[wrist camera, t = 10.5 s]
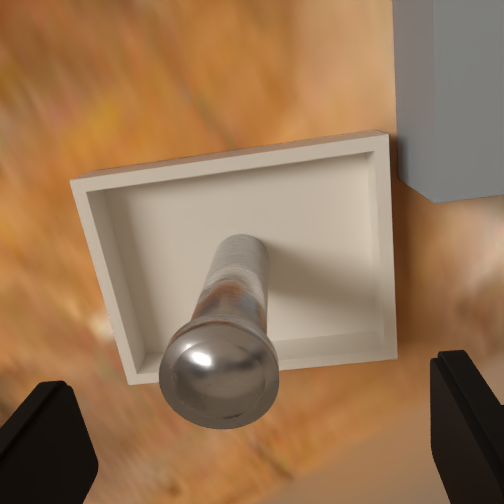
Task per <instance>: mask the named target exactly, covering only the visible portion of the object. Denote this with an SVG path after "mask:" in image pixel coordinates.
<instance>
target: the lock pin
mask: <svg viewBox="0 0 504 504" xmlns="http://www.w3.org/2000/svg"><path fill="white" fill-rule="evenodd" d="M268 276H269V256H268V252H267V250H266V248H265V246H264V245H263V244H262V242H261V241H259V240H258V239H257V238H255V237H253V236H250V235H246V234H236V235H232V236H229V237H227V238H226V239H224V240H223V241H222V242H221V243H220V244H219V246H218V247H217V250H216V252H215V255H214V258H213V260H212V263H211V266H210V269H209V271H208V274H207V277H206V279H205V282H204V285H203V288H202V290H201V293H200V296H199V299H198V301H197V304H196V307H195V310H194V312H193V315H192V318H191V321H190V322H188V323H186V324H185V325H183V326H182V327H181V328H180V329H179V330H178V331H177V332H176V333H175V334H174V335H173V337H172V338H171V340H170V342H169V344H168V346H167V348H166V351H165V353H164V355H163V358H162V360H161V363H160V367H159V384H160V388H161V391H162V394H163V396H164V398H165V399H166V401H167V402H168V404H169V405H170V406H171V407H172V408H173V410H174V411H176V412H177V413H178V414H179V415H180V416H182V417H183V418H185V419H186V420H188V421H190V422H192V423H194V424H197V425H199V426H203V427H206V428H212V429H233V428H238V427H242V426H245V425H248V424H250V423H252V422H254V421H256V420H257V419H259V418H260V417H262V416H263V415H264V414H265V413H266V412H267V411H268V410H269V408H270V407H271V406H272V404H273V403H274V401H275V398H276V396H277V393H278V389H279V362H278V356H277V352H276V350H275V347H274V345H273V344H272V342H271V340H270V339H269V338H268V336H267V312H268Z"/></svg>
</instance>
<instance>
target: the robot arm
mask: <svg viewBox="0 0 504 504" xmlns="http://www.w3.org/2000/svg"><path fill="white" fill-rule="evenodd" d="M430 410H431V450H432V455H433V459H434V462H435V464H436V467H437V469H438V472H439V474H440V477H441V480H442V482H443V485H444V487H445V490H446V493H447V495H448V498H449V500H450V503H451V504H504V405H501V404H500V402H499V401H498V399H497V398H496V397H495V395H494V394H493V392H492V390H491V389H490V387H489V386H488V384H487V383H486V381H485V380H484V378H483V377H482V375H481V374H480V372H479V371H478V369H477V368H476V366H475V365H474V363H473V362H472V360H471V359H470V357H469V356H468V354H467V353H466V352H465V351H464V350H454V351H441V352H439V353H438V358H432V359H431V360H430ZM97 472H98V460H97V457H96V454H95V451H94V448H93V445H92V443H91V440H90V437H89V434H88V431H87V428H86V426H85V423H84V420H83V417H82V414H81V411H80V408H79V406H78V403H77V400H76V397H75V394H74V391H73V389H72V387H71V386H67V384H66V383H65V382H64V381H48V382H41V383H39V384H38V385H37V386H36V387H35V388H34V390H33V391H32V392H31V393H30V394H29V396H28V397H27V398H26V399H25V400H24V401H23V403H22V404H21V405H20V406H19V407H18V408H17V410H16V411H15V412H14V413H13V414H12V416H11V417H10V418H9V419H8V420H7V421H6V423H5V424H4V425H3V426H2V427H1V429H0V504H83V502H84V500H85V498H86V496H87V494H88V492H89V490H90V488H91V486H92V484H93V482H94V480H95V478H96V475H97Z"/></svg>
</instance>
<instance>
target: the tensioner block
mask: <svg viewBox="0 0 504 504" xmlns="http://www.w3.org/2000/svg"><path fill="white" fill-rule="evenodd" d="M393 26H394V55H395V84H396V113H397V143H398V172H399V180H401V181H402V182H404V183H405V184H407V185H408V186H410V187H411V188H412V189H414V190H415V191H417V192H418V193H420V194H421V195H423V196H424V197H426V198H427V199H429V200H430V201H432V202H433V203H442V202H450V201H458V200H466V199H473V198H481V197H489V196H497V195H504V0H393Z"/></svg>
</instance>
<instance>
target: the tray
mask: <svg viewBox="0 0 504 504" xmlns="http://www.w3.org/2000/svg"><path fill="white" fill-rule="evenodd" d="M69 181H70V185H71V188H72V192H73V195H74V199H75V202H76V205H77V209H78V212H79V216H80V219H81V223H82V226H83V230H84V233H85V236H86V240H87V243H88V247H89V250H90V254H91V257H92V261H93V264H94V267H95V271H96V274H97V278H98V281H99V285H100V288H101V292H102V295H103V298H104V302H105V305H106V309H107V312H108V316H109V319H110V323H111V326H112V329H113V333H114V336H115V340H116V343H117V347H118V350H119V354H120V357H121V360H122V364H123V367H124V371H125V374H126V378H127V381H128V385H134V384H145V383H155V382H159V367H160V363H161V360H162V358H163V355H164V353H165V351H166V348H167V346H168V344H169V342H170V340H171V338H172V337H173V335H174V334H175V333H176V332H177V331H178V330H179V329H180V328H181V327H182V326H183V325H185V324H186V323H188V322H190V321H191V318H192V315H193V312H194V310H195V307H196V304H197V301H198V299H199V296H200V293H201V290H202V288H203V285H204V282H205V279H206V277H207V274H208V271H209V269H210V266H211V263H212V260H213V258H214V255H215V252H216V250H217V247H218V246H219V244H220V243H221V242H222V241H223V240H224V239H226V238H227V237H229V236H232V235H236V234H246V235H250V236H253V237H255V238H257V239H258V240H259V241H261V242H262V244H263V245H264V246H265V248H266V250H267V252H268V256H269V276H268V312H267V336H268V338H269V339H270V340H271V342H272V344H273V345H274V347H275V350H276V352H277V356H278V362H279V370H289V369H299V368H309V367H320V366H330V365H340V364H350V363H361V362H371V361H381V360H392V359H398V354H397V329H396V305H395V280H394V256H393V231H392V207H391V182H390V158H389V134H386V133H384V132H381V131H378V130H369V131H362V132H356V133H349V134H342V135H335V136H328V137H321V138H315V139H308V140H301V141H294V142H287V143H280V144H273V145H267V146H260V147H253V148H246V149H239V150H232V151H226V152H219V153H212V154H205V155H198V156H191V157H185V158H178V159H171V160H164V161H157V162H150V163H144V164H137V165H130V166H123V167H116V168H109V169H102V170H96V171H90V172H88V173H86V174H83V175H81V176H79V177H76V178H74V179H72V180H69Z"/></svg>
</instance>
